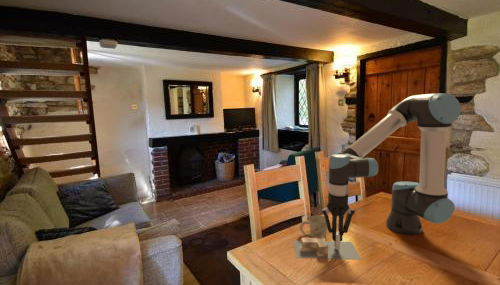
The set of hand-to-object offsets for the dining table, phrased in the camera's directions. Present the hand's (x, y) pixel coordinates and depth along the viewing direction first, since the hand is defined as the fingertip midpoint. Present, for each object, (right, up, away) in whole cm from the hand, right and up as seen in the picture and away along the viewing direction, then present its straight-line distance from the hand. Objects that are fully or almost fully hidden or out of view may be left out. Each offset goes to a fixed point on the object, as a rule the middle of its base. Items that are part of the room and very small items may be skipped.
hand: (337, 247), depth 106 cm
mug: (-7, -1, +11) cm, 13 cm away
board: (-5, -2, +1) cm, 5 cm away
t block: (-10, -1, +1) cm, 10 cm away
